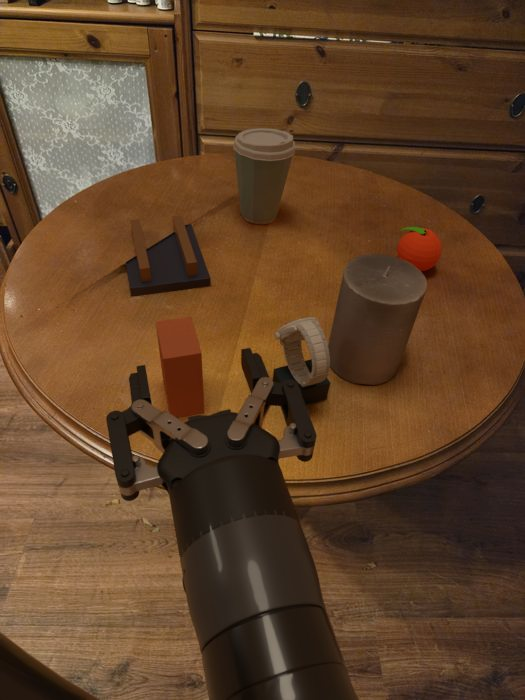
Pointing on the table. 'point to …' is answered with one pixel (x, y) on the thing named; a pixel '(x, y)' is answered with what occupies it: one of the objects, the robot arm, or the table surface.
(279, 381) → the watch
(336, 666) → the robot arm
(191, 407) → the red rectangular block
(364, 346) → the pillar candle
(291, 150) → the disposable coffee cup
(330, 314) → the table surface
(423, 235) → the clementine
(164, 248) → the base
